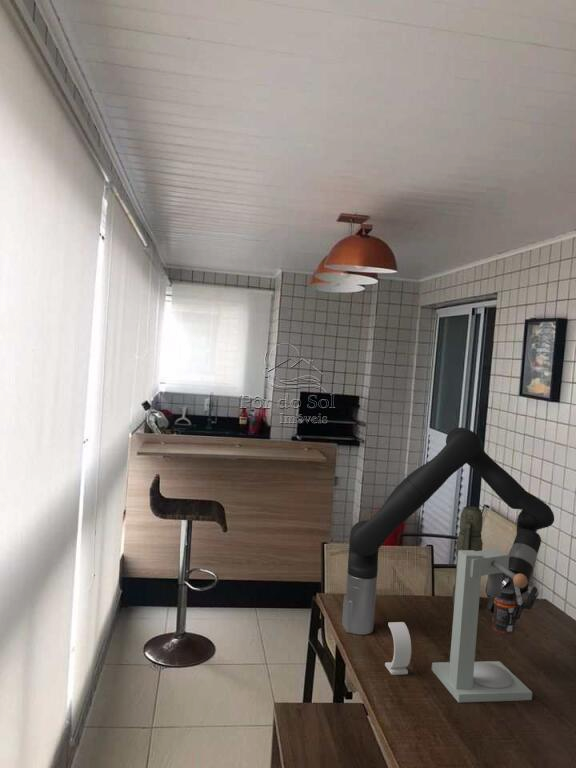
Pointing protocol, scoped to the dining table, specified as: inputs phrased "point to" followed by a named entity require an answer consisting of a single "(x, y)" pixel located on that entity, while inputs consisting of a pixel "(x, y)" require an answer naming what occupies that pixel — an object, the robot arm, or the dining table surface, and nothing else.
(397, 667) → the headphone stand
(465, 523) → the thermos
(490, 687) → the press
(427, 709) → the dining table surface
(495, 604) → the supplement bottle
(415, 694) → the dining table surface
